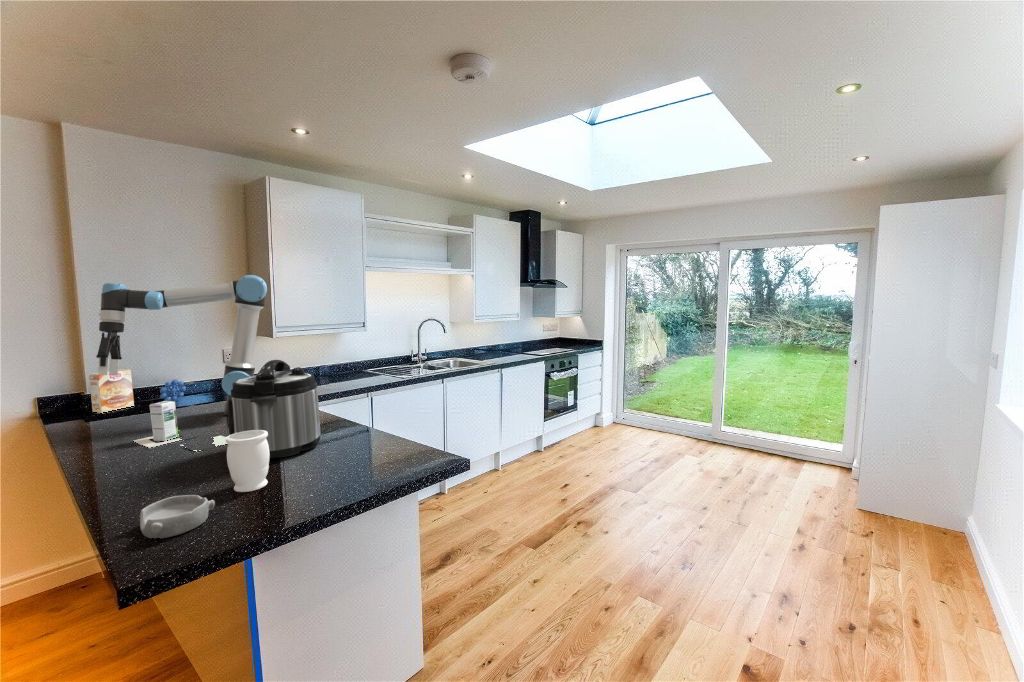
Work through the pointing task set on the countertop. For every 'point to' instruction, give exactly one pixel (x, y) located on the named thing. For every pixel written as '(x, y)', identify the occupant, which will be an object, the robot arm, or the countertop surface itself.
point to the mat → (216, 441)
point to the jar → (248, 459)
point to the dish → (174, 515)
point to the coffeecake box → (111, 391)
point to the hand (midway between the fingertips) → (108, 375)
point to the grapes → (172, 390)
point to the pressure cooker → (277, 408)
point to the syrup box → (164, 421)
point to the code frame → (149, 444)
